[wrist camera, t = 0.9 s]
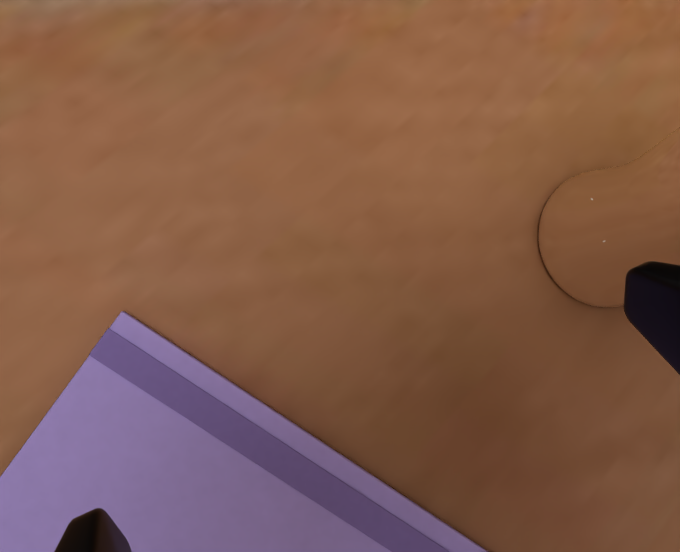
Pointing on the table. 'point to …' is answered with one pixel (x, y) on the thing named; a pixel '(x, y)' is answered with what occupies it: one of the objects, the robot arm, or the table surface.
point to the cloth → (195, 467)
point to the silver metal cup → (613, 224)
